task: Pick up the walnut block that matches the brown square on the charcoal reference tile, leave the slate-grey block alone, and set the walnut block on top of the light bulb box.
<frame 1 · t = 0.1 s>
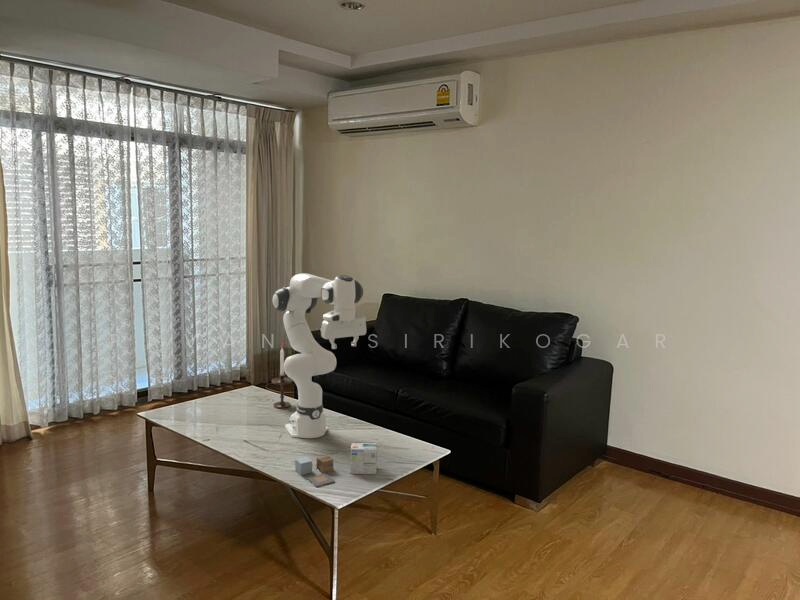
hand: (344, 347, 244), 48 cm above the table, tool pointing down, fingers open, 8 cm apart
light bulb box: (363, 471, 237), on the table
candlestick: (282, 406, 313), on the table
reference tile: (320, 480, 227), on the table
slate block: (303, 471, 234), on the table
walnut block: (324, 470, 237), on the table
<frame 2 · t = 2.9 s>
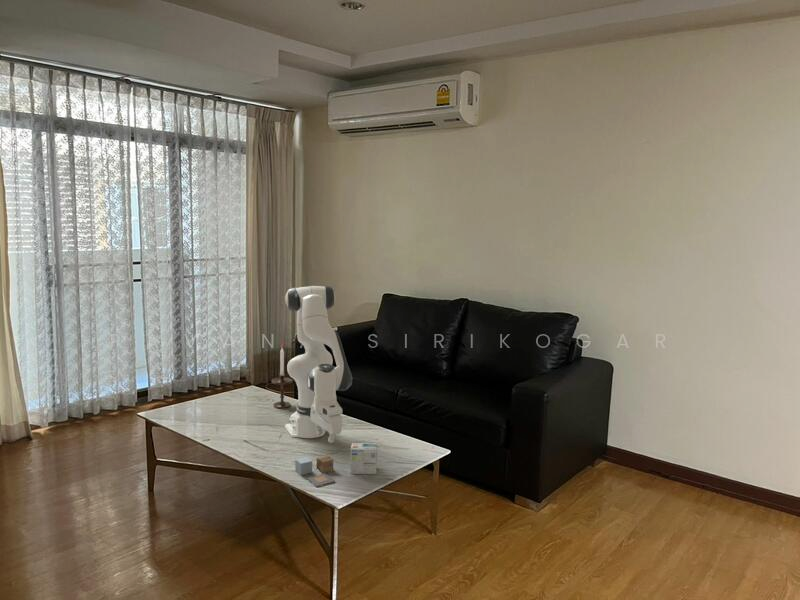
hand: (325, 438, 235), 14 cm above the table, tool pointing down, fingers open, 8 cm apart
nothing on the table moved.
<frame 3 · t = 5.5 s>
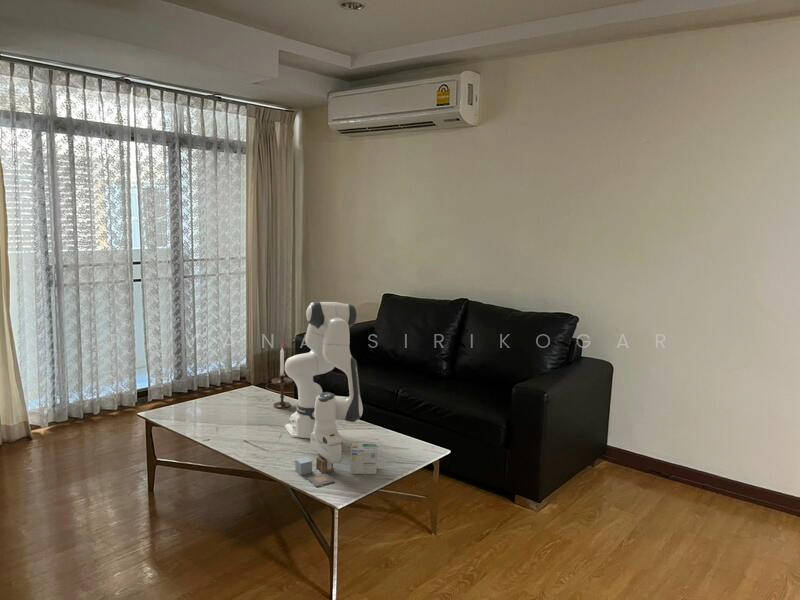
hand: (324, 465, 236), 2 cm above the table, tool pointing down, fingers closed on walnut block, 5 cm apart
walnut block: (324, 469, 237), on the table, touching gripper
everything else where it was.
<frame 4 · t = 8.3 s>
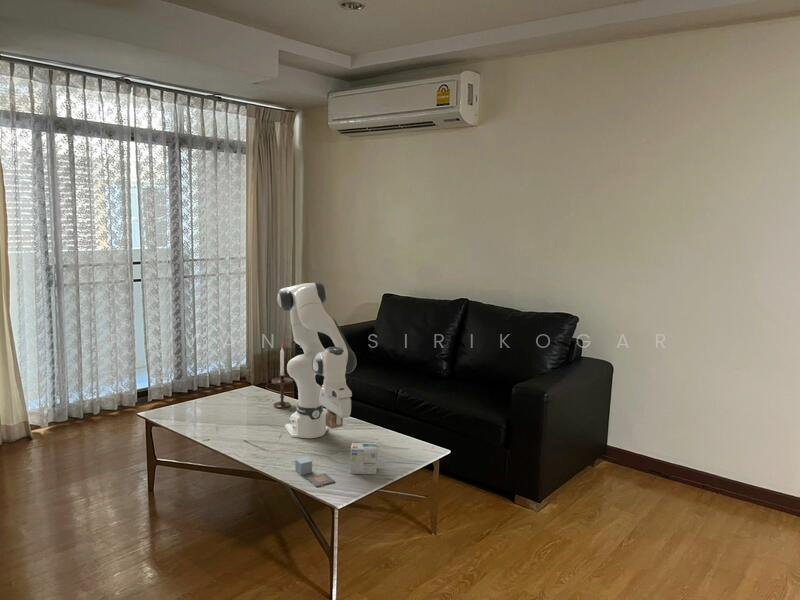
hand: (334, 421, 233), 21 cm above the table, tool pointing down, fingers closed on walnut block, 5 cm apart
walnut block: (334, 425, 234), point 19 cm above the table, touching gripper
everything else where it was.
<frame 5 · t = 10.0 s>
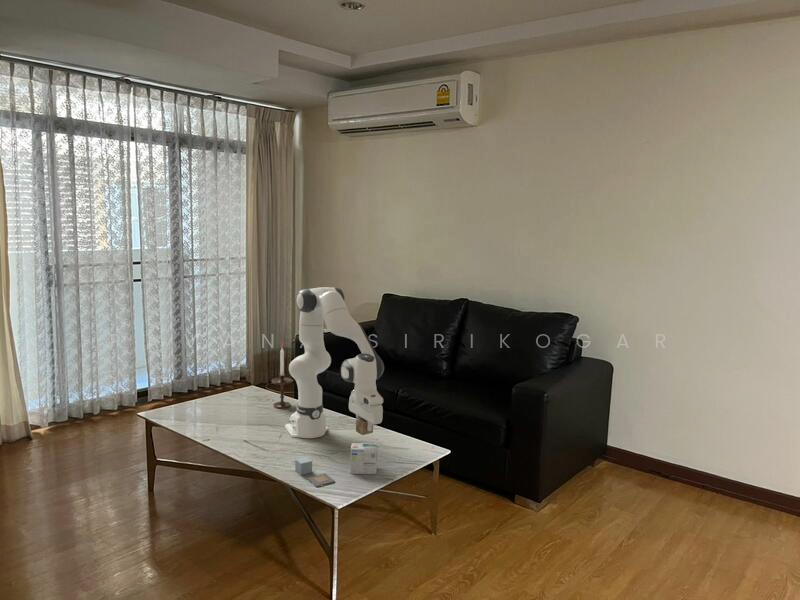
hand: (364, 427, 234), 18 cm above the table, tool pointing down, fingers closed on walnut block, 5 cm apart
walnut block: (364, 432, 234), point 16 cm above the table, touching gripper
everything else where it was.
when the fingers open (14 cm above the table, at t = 11.2 s): walnut block drops 2 cm, resting on light bulb box.
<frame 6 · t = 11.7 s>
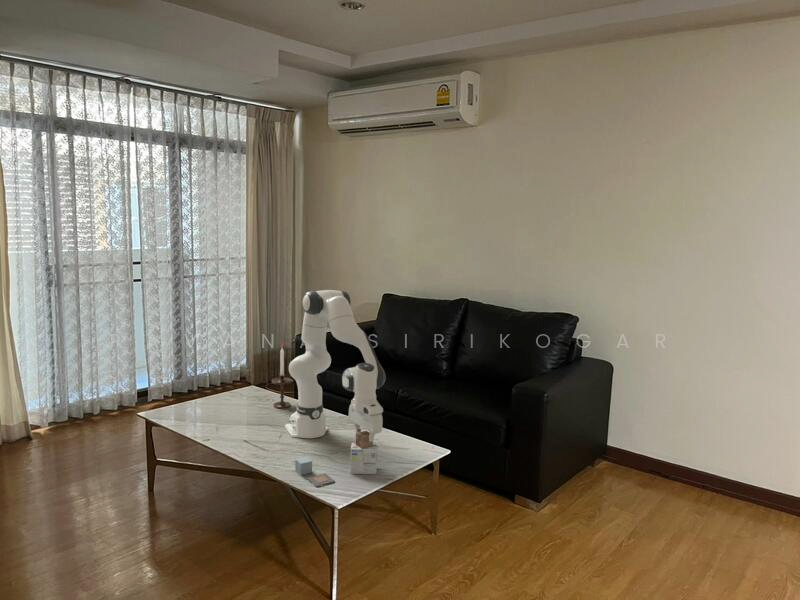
hand: (364, 437, 235), 14 cm above the table, tool pointing down, fingers open, 8 cm apart
light bulb box: (363, 471, 237), on the table, touching walnut block
walnut block: (364, 445, 235), point 11 cm above the table, touching light bulb box
everything else where it was.
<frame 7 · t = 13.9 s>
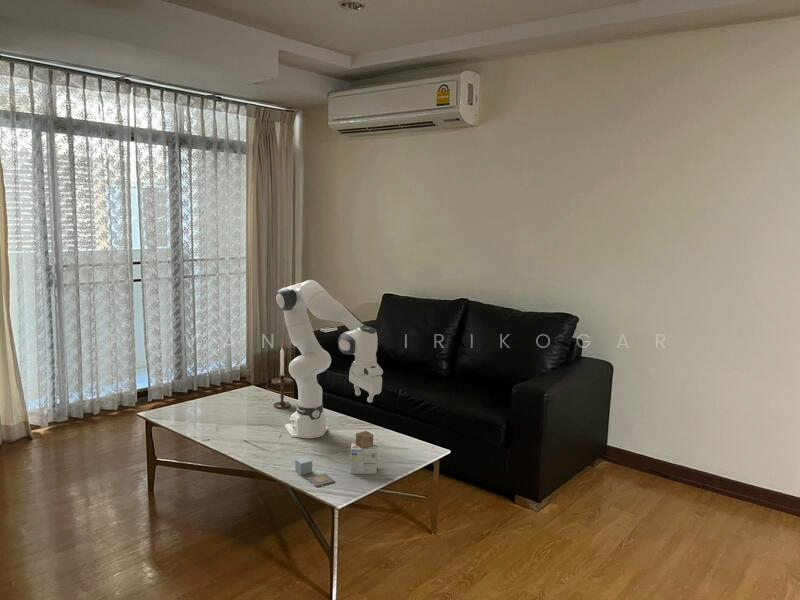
hand: (363, 398, 240), 28 cm above the table, tool pointing down, fingers open, 8 cm apart
nothing on the table moved.
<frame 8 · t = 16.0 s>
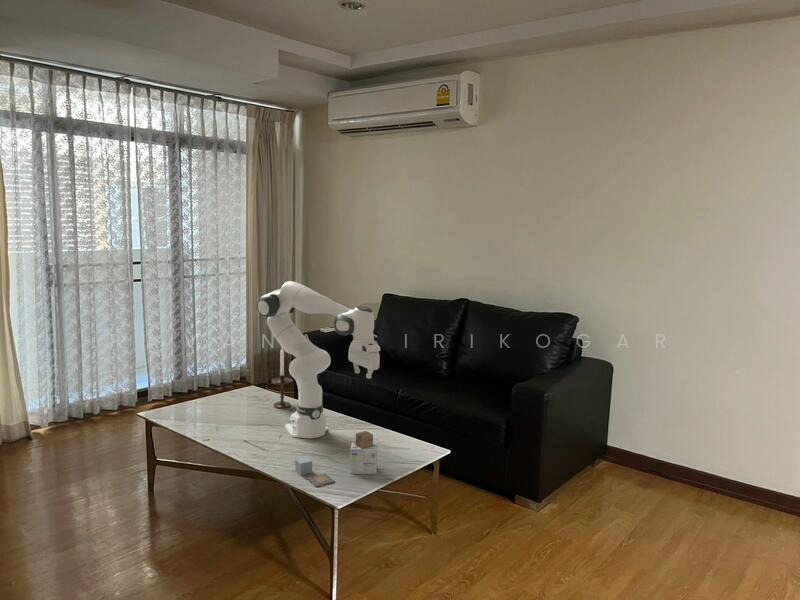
hand: (362, 375, 252), 34 cm above the table, tool pointing down, fingers open, 8 cm apart
nothing on the table moved.
at the end: walnut block inside the target area on the light bulb box (0.1 cm from its centre), point 11.0 cm above the light bulb box's base; walnut block touching light bulb box; the gripper is holding nothing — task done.
